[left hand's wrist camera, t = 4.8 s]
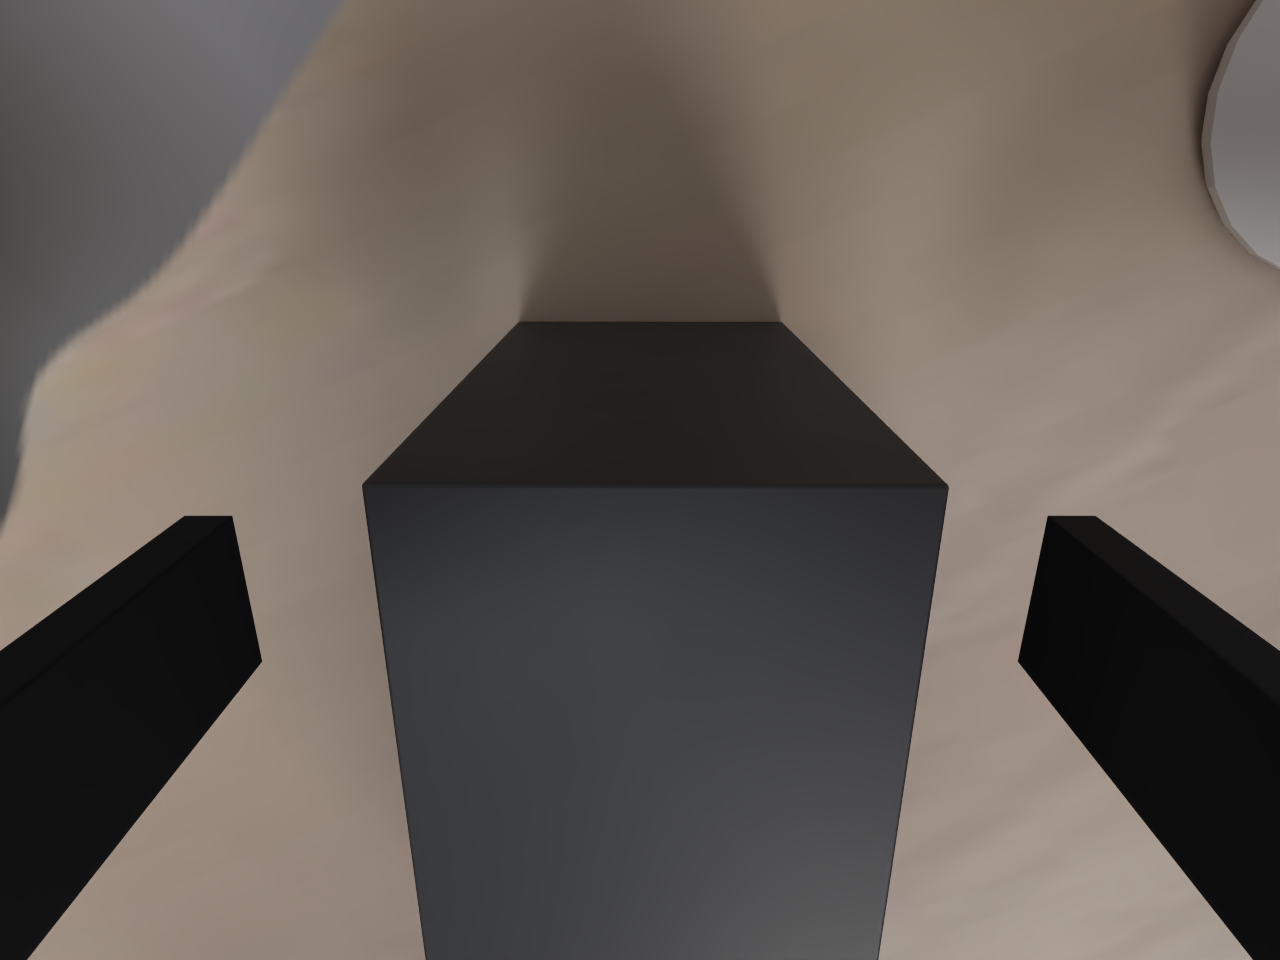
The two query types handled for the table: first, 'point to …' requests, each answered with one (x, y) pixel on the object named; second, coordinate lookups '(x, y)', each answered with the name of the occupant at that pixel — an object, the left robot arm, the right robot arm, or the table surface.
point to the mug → (1247, 134)
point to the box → (653, 646)
